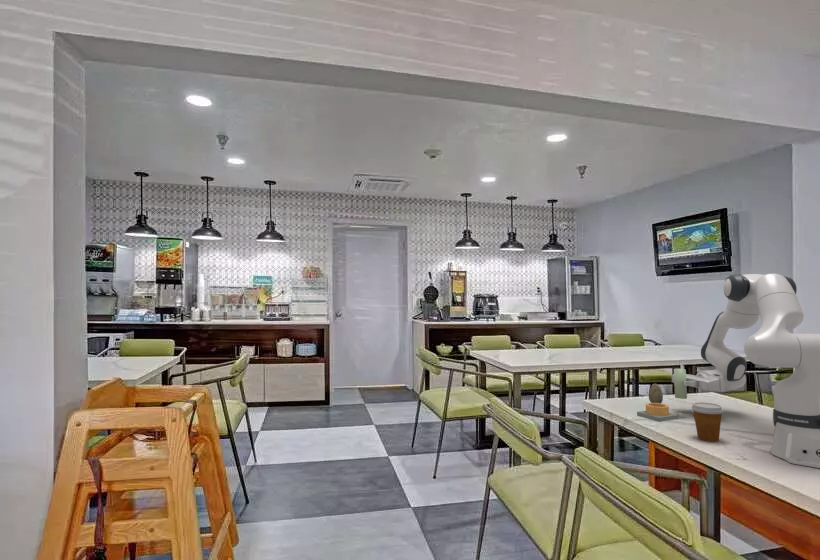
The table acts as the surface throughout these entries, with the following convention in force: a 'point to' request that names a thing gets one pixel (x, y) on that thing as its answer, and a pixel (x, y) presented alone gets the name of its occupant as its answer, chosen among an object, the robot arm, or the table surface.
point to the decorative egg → (655, 394)
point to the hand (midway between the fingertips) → (678, 382)
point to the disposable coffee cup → (707, 420)
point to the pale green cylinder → (680, 383)
